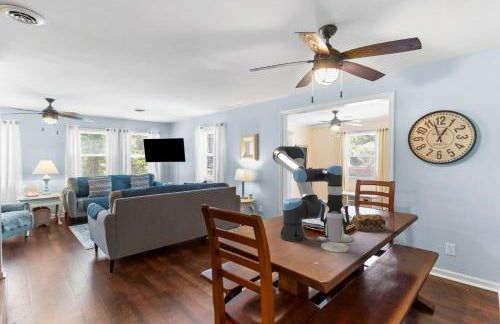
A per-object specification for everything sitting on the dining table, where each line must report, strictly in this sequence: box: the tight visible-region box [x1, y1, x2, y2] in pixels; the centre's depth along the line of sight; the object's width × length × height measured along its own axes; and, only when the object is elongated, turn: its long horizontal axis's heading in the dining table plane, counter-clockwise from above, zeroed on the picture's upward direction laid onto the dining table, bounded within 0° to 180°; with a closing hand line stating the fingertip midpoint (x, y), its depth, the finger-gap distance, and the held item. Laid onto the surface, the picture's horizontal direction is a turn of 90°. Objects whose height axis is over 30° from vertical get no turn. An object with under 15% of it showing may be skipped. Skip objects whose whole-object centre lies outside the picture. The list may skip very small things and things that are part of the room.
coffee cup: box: [325, 211, 345, 243], centre depth 134 cm, size 10×10×15 cm
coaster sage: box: [339, 233, 354, 243], centre depth 150 cm, size 14×14×1 cm
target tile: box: [314, 235, 330, 243], centre depth 148 cm, size 7×7×1 cm
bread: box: [351, 213, 387, 232], centre depth 169 cm, size 19×11×10 cm, turn 88°
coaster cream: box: [320, 241, 349, 254], centre depth 135 cm, size 14×14×1 cm
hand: (334, 235), depth 135 cm, fingers closed on coffee cup, 8 cm apart
